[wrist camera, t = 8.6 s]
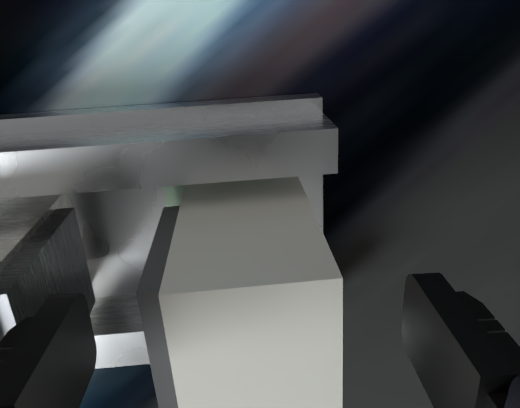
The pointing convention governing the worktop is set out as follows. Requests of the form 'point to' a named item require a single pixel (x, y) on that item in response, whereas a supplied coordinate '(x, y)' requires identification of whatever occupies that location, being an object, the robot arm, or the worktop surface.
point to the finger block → (243, 300)
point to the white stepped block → (133, 194)
